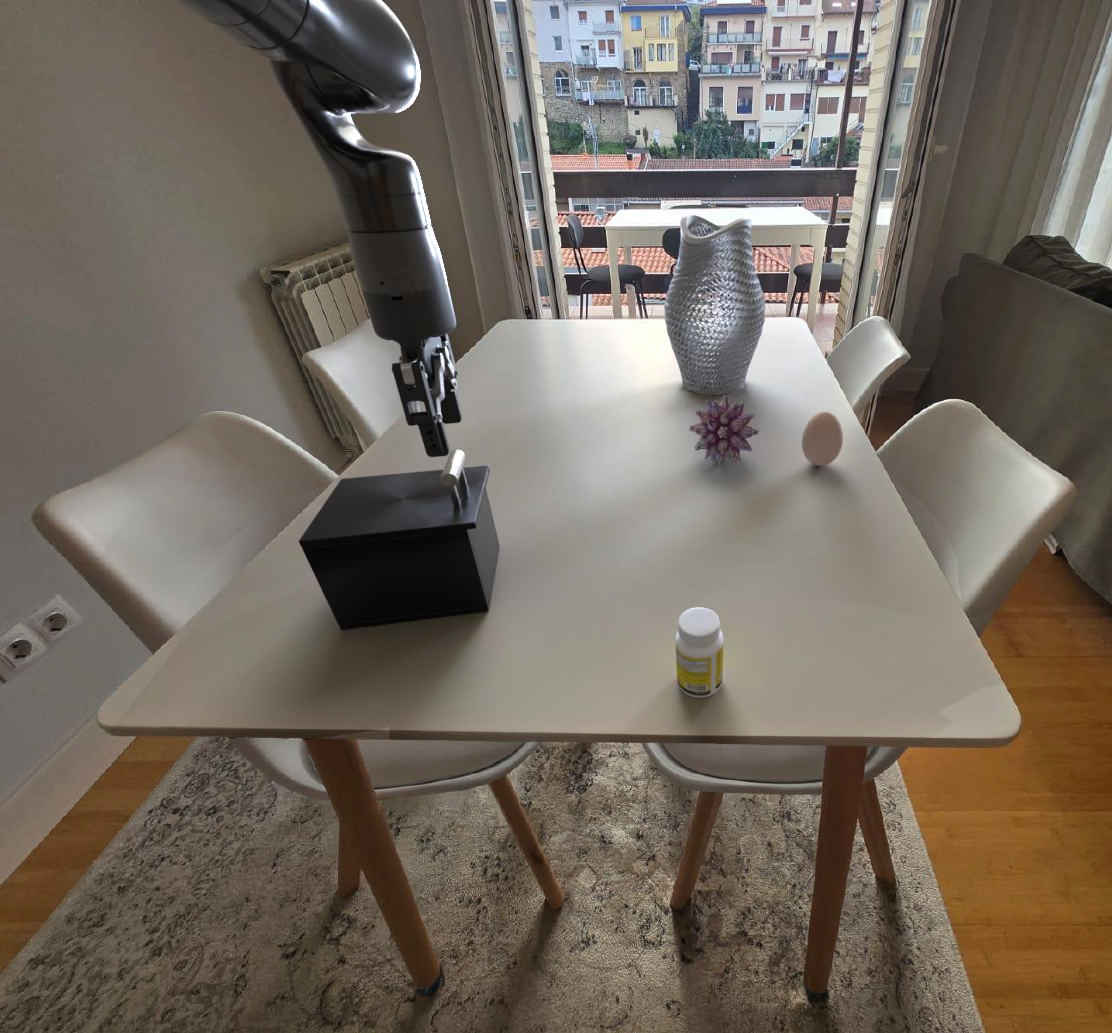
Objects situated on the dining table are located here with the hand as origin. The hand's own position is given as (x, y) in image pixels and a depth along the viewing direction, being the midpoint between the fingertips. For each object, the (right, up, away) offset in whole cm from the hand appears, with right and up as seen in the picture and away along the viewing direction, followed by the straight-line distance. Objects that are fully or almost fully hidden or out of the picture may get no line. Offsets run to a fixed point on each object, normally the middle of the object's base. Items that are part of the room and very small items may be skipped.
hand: (446, 437), depth 62 cm
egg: (+50, 0, +36) cm, 61 cm away
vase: (+33, +23, +71) cm, 82 cm away
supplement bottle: (+28, -26, -4) cm, 38 cm away
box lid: (-6, -7, +3) cm, 10 cm away
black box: (-7, -17, +10) cm, 21 cm away
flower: (+33, +1, +38) cm, 50 cm away
